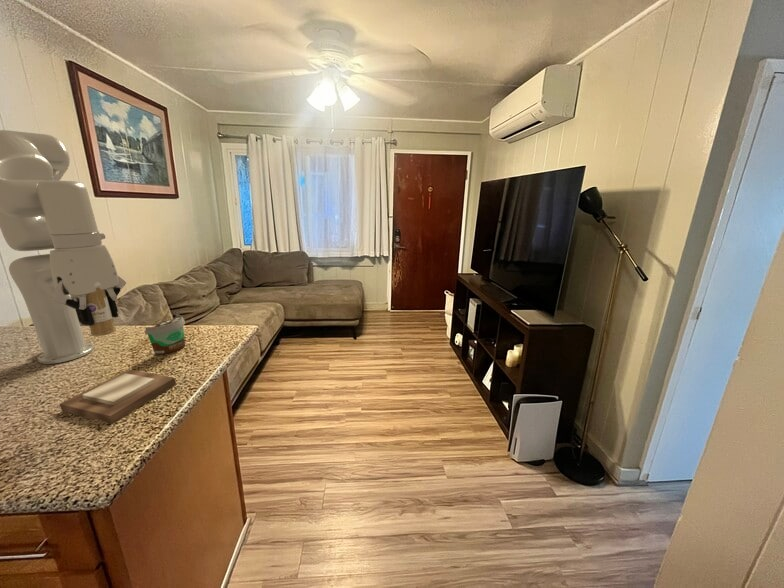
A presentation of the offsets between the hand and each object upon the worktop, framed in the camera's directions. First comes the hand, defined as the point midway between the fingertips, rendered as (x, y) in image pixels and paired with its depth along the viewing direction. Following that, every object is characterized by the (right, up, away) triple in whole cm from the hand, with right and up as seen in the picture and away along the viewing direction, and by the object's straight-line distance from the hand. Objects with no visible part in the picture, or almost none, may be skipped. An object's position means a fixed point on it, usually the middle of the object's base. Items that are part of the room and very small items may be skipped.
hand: (100, 319), depth 75 cm
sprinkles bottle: (0, -3, +1) cm, 4 cm away
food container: (-3, -12, +31) cm, 33 cm away
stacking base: (0, -20, +6) cm, 21 cm away
